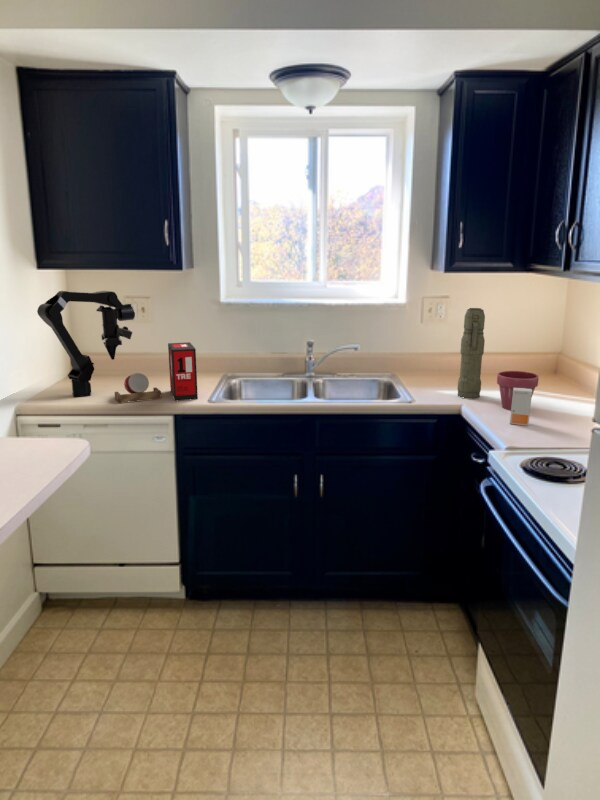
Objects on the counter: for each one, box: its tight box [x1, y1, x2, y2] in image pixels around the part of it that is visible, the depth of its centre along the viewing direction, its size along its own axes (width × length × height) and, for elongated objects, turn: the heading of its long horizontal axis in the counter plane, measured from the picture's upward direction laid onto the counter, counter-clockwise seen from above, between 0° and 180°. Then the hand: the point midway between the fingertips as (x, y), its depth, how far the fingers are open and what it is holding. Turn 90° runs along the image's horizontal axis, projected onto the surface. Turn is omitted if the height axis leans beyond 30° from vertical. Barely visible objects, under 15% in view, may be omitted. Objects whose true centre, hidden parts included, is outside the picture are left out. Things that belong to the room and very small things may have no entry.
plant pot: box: [496, 370, 539, 411], centre depth 214 cm, size 14×14×13 cm
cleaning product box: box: [167, 342, 199, 402], centre depth 231 cm, size 16×9×20 cm, turn 18°
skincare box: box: [509, 388, 533, 427], centre depth 195 cm, size 6×4×12 cm
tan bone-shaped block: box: [114, 387, 162, 404], centre depth 227 cm, size 16×7×3 cm, turn 117°
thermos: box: [457, 307, 486, 399], centre depth 228 cm, size 9×12×35 cm
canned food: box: [123, 372, 150, 394], centre depth 229 cm, size 8×8×11 cm
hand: (112, 359), depth 241 cm, fingers closed
